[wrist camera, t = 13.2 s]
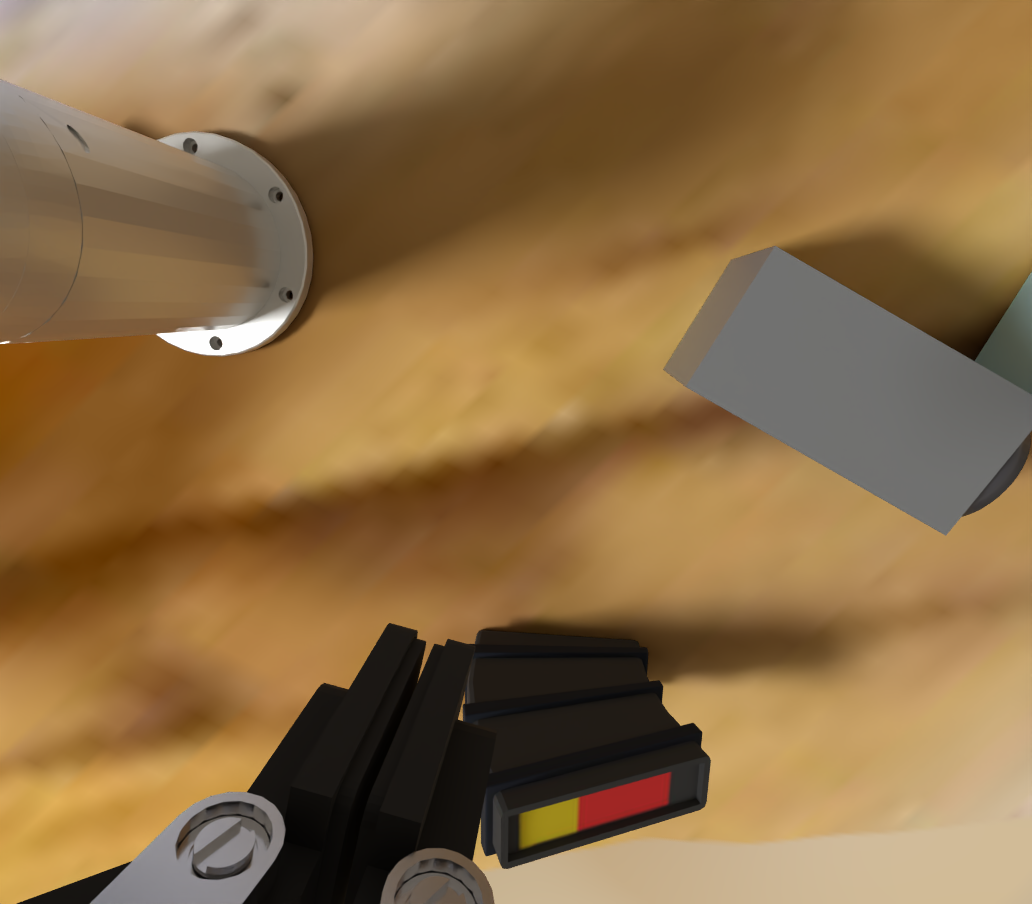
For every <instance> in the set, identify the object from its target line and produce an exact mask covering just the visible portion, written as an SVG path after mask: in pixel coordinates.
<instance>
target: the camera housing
mask: <svg viewBox="0 0 1032 904" xmlns="http://www.w3.org/2000/svg"><path fill="white" fill-rule="evenodd" d="M663 370H664V371H666V372H667V373H668V374H670V375H671V376H672V377H674V378H675V379H676V380H677V381H679V382H680V383H681V384H683V385H684V386H685V387H687V388H689V389H690V390H692V391H694V392H696V393H697V394H699V395H701V396H703V397H704V398H706V399H708V400H710V401H711V402H713V403H715V404H717V405H718V406H720V407H722V408H724V409H725V410H727V411H729V412H731V413H732V414H734V415H736V416H738V417H739V418H741V419H743V420H745V421H746V422H748V423H750V424H752V425H753V426H755V427H757V428H759V429H760V430H762V431H764V432H766V433H767V434H769V435H771V436H773V437H774V438H776V439H778V440H780V441H781V442H783V443H785V444H787V445H788V446H790V447H792V448H794V449H795V450H797V451H799V452H801V453H802V454H804V455H806V456H808V457H809V458H811V459H813V460H815V461H816V462H818V463H820V464H822V465H823V466H825V467H827V468H829V469H830V470H832V471H834V472H836V473H837V474H839V475H841V476H843V477H844V478H846V479H848V480H850V481H851V482H853V483H855V484H857V485H858V486H860V487H862V488H864V489H865V490H867V491H869V492H871V493H872V494H874V495H876V496H878V497H879V498H881V499H883V500H885V501H886V502H888V503H890V504H892V505H893V506H895V507H897V508H899V509H900V510H902V511H904V512H906V513H907V514H909V515H911V516H913V517H914V518H916V519H918V520H920V521H921V522H923V523H925V524H927V525H928V526H930V527H932V528H934V529H935V530H937V531H939V532H941V533H942V534H944V535H947V534H948V532H949V531H950V530H951V529H952V527H953V526H954V525H955V524H956V523H957V521H958V520H959V519H960V518H961V517H963V516H966V515H969V514H971V513H974V512H976V511H978V510H980V509H982V508H983V507H985V506H987V505H988V504H990V503H991V502H993V501H994V500H995V499H996V498H998V497H999V496H1000V495H1001V494H1002V493H1003V492H1004V491H1005V490H1006V489H1007V488H1008V487H1009V486H1010V485H1011V484H1012V483H1013V481H1014V480H1015V479H1016V477H1017V476H1018V474H1019V473H1020V471H1021V470H1022V468H1023V466H1024V464H1025V462H1026V459H1027V457H1028V454H1029V450H1030V442H1031V439H1030V432H1031V431H1032V395H1031V394H1030V393H1028V392H1026V391H1025V390H1023V389H1021V388H1019V387H1018V386H1016V385H1014V384H1012V383H1011V382H1009V381H1007V380H1006V379H1004V378H1002V377H1000V376H999V375H997V374H995V373H994V372H992V371H990V370H988V369H987V368H985V367H983V366H981V365H980V364H978V363H976V362H975V361H973V360H971V359H969V358H968V357H966V356H964V355H962V354H961V353H959V352H957V351H956V350H954V349H952V348H950V347H949V346H947V345H945V344H943V343H942V342H940V341H938V340H937V339H935V338H933V337H931V336H930V335H928V334H926V333H925V332H923V331H921V330H919V329H918V328H916V327H914V326H912V325H911V324H909V323H907V322H906V321H904V320H902V319H900V318H899V317H897V316H895V315H893V314H892V313H890V312H888V311H887V310H885V309H883V308H881V307H880V306H878V305H876V304H875V303H873V302H871V301H869V300H868V299H866V298H864V297H862V296H861V295H859V294H857V293H856V292H854V291H852V290H850V289H849V288H847V287H845V286H843V285H842V284H840V283H838V282H837V281H835V280H833V279H831V278H830V277H828V276H826V275H825V274H823V273H821V272H819V271H818V270H816V269H814V268H812V267H811V266H809V265H807V264H806V263H804V262H802V261H800V260H799V259H797V258H795V257H793V256H792V255H790V254H788V253H787V252H785V251H783V250H781V249H780V248H778V247H776V246H773V247H770V248H767V249H764V250H761V251H758V252H755V253H751V254H748V255H745V256H742V257H739V258H736V259H733V260H731V261H730V263H729V264H728V266H727V267H726V269H725V271H724V272H723V274H722V276H721V277H720V279H719V280H718V282H717V284H716V285H715V287H714V288H713V290H712V292H711V293H710V295H709V296H708V298H707V300H706V301H705V303H704V305H703V306H702V308H701V309H700V311H699V313H698V314H697V316H696V317H695V319H694V321H693V322H692V324H691V326H690V327H689V329H688V330H687V332H686V334H685V335H684V337H683V338H682V340H681V342H680V343H679V345H678V346H677V348H676V350H675V351H674V353H673V355H672V356H671V358H670V359H669V361H668V363H667V364H666V366H665V367H664V369H663Z"/></svg>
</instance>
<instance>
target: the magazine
mask: <svg viewBox="0 0 1032 904" xmlns="http://www.w3.org/2000/svg"><path fill="white" fill-rule="evenodd" d="M469 645H473V646H476V647H475V652H474V656H473V660H472V664H471V668H470V672H469V676H468V680H467V684H466V688H465V704H463V721H464V722H468V723H471V724H475V725H479V726H482V727H486V728H490V729H493V730H497V735H496V741H495V746H494V751H493V756H492V762H491V767H490V772H489V777H488V782H487V788H486V793H485V798H484V803H483V808H482V814H481V844H482V847H483V850H484V853H485V855H486V856H490V855H493V854H497V856H498V859H499V862H500V864H501V866H502V868H504V869H509V868H512V867H515V866H518V865H522V864H525V863H528V862H531V861H535V860H538V859H541V858H544V857H548V856H551V855H554V854H558V853H561V852H564V851H567V850H571V849H574V848H577V847H580V846H584V845H587V844H590V843H593V842H597V841H600V840H603V839H606V838H610V837H613V836H616V835H620V834H623V833H626V832H629V831H633V830H636V829H639V828H642V827H646V826H649V825H652V824H655V823H659V822H662V821H665V820H669V819H672V818H675V817H678V816H682V815H685V814H688V813H691V812H695V811H698V810H701V809H702V808H703V807H705V804H706V802H707V792H708V782H709V772H710V763H711V760H710V757H709V756H708V755H707V754H706V753H705V752H704V751H703V750H702V749H701V741H702V731H701V730H700V729H699V728H698V727H697V726H696V725H695V724H694V723H690V724H686V725H682V726H680V725H679V724H678V722H677V721H676V720H675V719H674V718H673V717H672V716H671V715H670V714H669V713H668V712H667V710H666V709H665V707H664V706H663V704H662V694H663V685H662V684H661V682H660V681H659V680H658V681H650V682H649V679H648V677H647V664H648V649H647V648H646V647H640V646H639V644H638V642H637V641H635V640H622V639H607V638H592V637H577V636H562V635H547V634H532V633H517V632H502V631H487V630H481V631H479V632H478V634H477V636H476V641H475V644H469Z"/></svg>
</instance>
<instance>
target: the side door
mask: <svg viewBox="0 0 1032 904" xmlns="http://www.w3.org/2000/svg"><path fill="white" fill-rule="evenodd" d="M975 362H976V363H978V364H980V365H981V366H983V367H985V368H987V369H988V370H990V371H992V372H994V373H995V374H997V375H999V376H1000V377H1002V378H1004V379H1006V380H1007V381H1009V382H1011V383H1012V384H1014V385H1016V386H1018V387H1019V388H1021V389H1023V390H1025V391H1026V392H1028V393H1030V394H1031V395H1032V272H1031V273H1030V275H1029V277H1028V278H1027V280H1026V281H1025V283H1024V284H1023V286H1022V288H1021V289H1020V291H1019V292H1018V294H1017V295H1016V297H1015V298H1014V300H1013V302H1012V303H1011V305H1010V306H1009V308H1008V309H1007V311H1006V313H1005V314H1004V316H1003V317H1002V319H1001V320H1000V322H999V324H998V325H997V327H996V328H995V330H994V331H993V333H992V334H991V336H990V338H989V339H988V341H987V342H986V344H985V345H984V347H983V349H982V350H981V352H980V353H979V355H978V356H977V358H976V360H975Z"/></svg>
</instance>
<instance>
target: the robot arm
mask: <svg viewBox="0 0 1032 904" xmlns="http://www.w3.org/2000/svg"><path fill="white" fill-rule="evenodd" d="M197 147H198V149H197ZM282 193H283V199H282V200H281V201H280V195H281V194H282ZM312 268H313V247H312V236H311V232H310V228H309V225H308V221H307V217H306V214H305V212H304V210H303V207H302V205H301V203H300V201H299V199H298V197H297V194H296V193H295V192H294V190H293V189H292V187H291V186H290V184H289V183H288V181H287V180H286V178H285V177H284V176H283V175H282V174H281V173H280V172H279V171H278V170H277V169H276V168H275V167H274V166H273V165H272V164H271V163H270V161H268V160H267V159H266V158H264V157H263V156H261V155H260V154H258V153H257V152H256V151H254V150H253V149H251V148H249V147H247V146H245V145H243V144H241V143H239V142H237V141H235V140H233V139H230V138H227V137H224V136H221V135H218V134H214V133H205V132H196V131H192V132H183V133H175V134H172V135H169V136H166V137H163V138H160V139H157V140H154V139H152V138H149V137H147V136H144V135H142V134H139V133H137V132H134V131H132V130H129V129H126V128H124V127H121V126H119V125H116V124H114V123H111V122H109V121H106V120H104V119H101V118H98V117H96V116H93V115H91V114H88V113H86V112H83V111H81V110H78V109H76V108H73V107H71V106H68V105H65V104H63V103H60V102H58V101H55V100H53V99H50V98H48V97H45V96H43V95H40V94H37V93H35V92H32V91H30V90H27V89H25V88H22V87H20V86H17V85H15V84H12V83H9V82H7V81H4V80H2V79H0V344H9V343H27V342H43V341H58V340H73V339H89V338H104V337H119V336H135V335H150V334H156V335H157V336H159V337H160V338H162V339H163V340H165V341H166V342H168V343H169V344H172V345H174V346H176V347H178V348H181V349H183V350H185V351H188V352H192V353H196V354H201V355H205V356H229V355H237V354H242V353H246V352H249V351H253V350H256V349H258V348H260V347H262V346H264V345H266V344H268V343H270V342H272V341H273V340H274V339H275V338H277V337H278V336H279V335H280V334H281V333H283V332H284V331H285V330H286V329H287V328H288V327H289V325H290V324H291V323H292V321H293V320H294V319H295V317H296V316H297V315H298V313H299V311H300V309H301V307H302V305H303V303H304V301H305V299H306V297H307V293H308V289H309V286H310V282H311V279H312ZM291 291H292V293H293V299H291V298H290V296H289V294H290V292H291ZM221 340H222V342H223V345H222V343H221ZM417 633H418V632H417V630H413V629H410V628H406V627H402V626H399V625H395V624H391V623H389V624H388V625H387V626H386V628H385V630H384V631H383V633H382V635H381V636H380V638H379V640H378V641H377V643H376V645H375V646H374V648H373V650H372V651H371V653H370V655H369V656H368V658H367V660H366V661H365V663H364V665H363V666H362V668H361V670H360V671H359V673H358V675H357V676H356V678H355V680H354V681H353V683H352V685H351V686H350V688H349V690H348V689H345V688H341V687H337V686H334V685H330V684H326V683H324V684H322V685H321V686H320V687H319V688H318V689H317V690H316V692H315V693H314V695H313V696H312V698H311V699H310V701H309V702H308V704H307V705H306V707H305V708H304V710H303V711H302V712H301V714H300V715H299V717H298V718H297V720H296V721H295V723H294V724H293V726H292V727H291V729H290V730H289V731H288V733H287V734H286V736H285V737H284V739H283V740H282V742H281V743H280V745H279V746H278V748H277V749H276V751H275V752H274V753H273V755H272V756H271V758H270V759H269V761H268V762H267V764H266V765H265V767H264V768H263V770H262V771H261V772H260V774H259V775H258V777H257V778H256V780H255V781H254V783H253V784H252V786H251V787H250V789H249V790H248V791H247V792H227V793H223V794H218V795H214V796H210V797H208V798H206V799H204V800H201V801H199V802H197V803H195V804H193V805H192V806H191V807H189V808H188V809H187V810H185V811H184V812H183V813H181V814H180V815H179V816H178V817H177V818H176V819H175V820H174V821H173V822H172V823H171V824H170V825H169V826H168V827H167V828H166V829H165V830H164V831H163V832H162V833H161V834H160V835H159V836H158V837H157V838H156V839H155V840H154V841H152V842H151V843H150V844H149V845H148V846H147V847H146V848H145V849H144V850H143V851H142V852H141V853H140V854H139V855H138V856H137V857H136V858H135V859H134V860H133V861H131V862H129V863H126V864H123V865H120V866H118V867H115V868H112V869H109V870H107V871H104V872H101V873H99V874H96V875H93V876H90V877H88V878H85V879H82V880H80V881H77V882H74V883H71V884H69V885H66V886H63V887H61V888H58V889H55V890H52V891H50V892H47V893H44V894H42V895H39V896H36V897H33V898H31V899H28V900H25V901H23V902H20V903H17V904H494V898H493V892H492V888H491V886H490V884H489V882H488V880H487V878H486V876H485V874H484V873H483V872H482V871H481V870H480V869H479V868H478V867H477V865H476V864H475V863H474V862H473V861H472V860H473V855H474V850H475V845H476V840H477V834H478V829H479V824H480V819H481V814H482V808H483V803H484V798H485V793H486V788H487V782H488V777H489V772H490V767H491V762H492V756H493V751H494V746H495V741H496V735H497V730H493V729H490V728H486V727H482V726H479V725H475V724H471V723H468V722H464V721H461V720H458V716H459V712H460V708H461V704H462V700H463V696H464V692H465V688H466V684H467V680H468V676H469V672H470V668H471V664H472V660H473V656H474V652H475V647H476V646H473V645H469V644H465V643H461V642H458V641H454V640H450V639H447V642H446V644H445V646H442V645H438V644H434V646H433V648H432V650H431V653H430V655H429V657H428V660H427V662H426V664H425V667H424V669H423V671H422V674H421V676H420V678H419V674H420V669H421V665H422V660H423V656H424V651H425V646H426V641H423V640H419V639H417ZM418 678H419V681H418ZM417 682H418V683H417Z"/></svg>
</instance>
